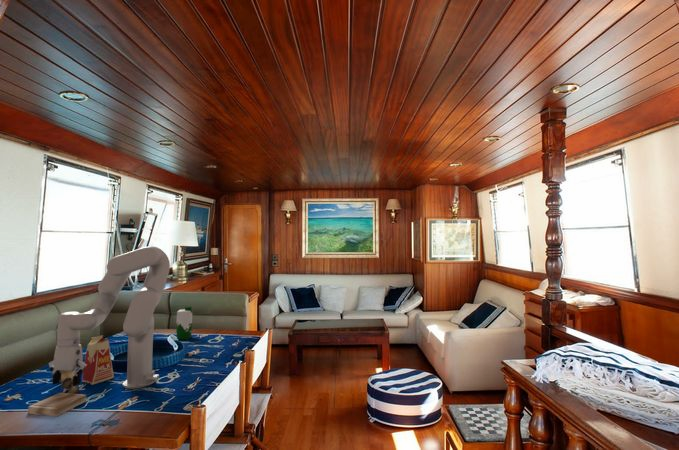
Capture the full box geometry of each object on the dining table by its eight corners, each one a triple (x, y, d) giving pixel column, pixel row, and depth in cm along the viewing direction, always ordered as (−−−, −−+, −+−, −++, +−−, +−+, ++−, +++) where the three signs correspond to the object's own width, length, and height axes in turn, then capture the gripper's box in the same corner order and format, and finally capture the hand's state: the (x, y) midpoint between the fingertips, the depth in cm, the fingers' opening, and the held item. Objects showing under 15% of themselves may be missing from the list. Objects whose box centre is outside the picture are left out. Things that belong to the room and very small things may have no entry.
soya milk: (190, 339, 224) (191, 307, 225) (175, 340, 222) (175, 308, 223) (192, 336, 233) (193, 305, 234) (177, 337, 230) (178, 306, 231)
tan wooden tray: (85, 401, 137) (86, 394, 137) (56, 416, 125) (56, 408, 125) (59, 399, 139) (59, 392, 139) (27, 413, 127) (28, 406, 127)
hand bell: (63, 382, 156) (64, 345, 156) (48, 381, 157) (49, 344, 158) (80, 375, 164) (81, 340, 164) (65, 374, 165) (67, 339, 166)
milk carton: (114, 377, 161) (115, 333, 162) (92, 385, 153) (94, 338, 154) (101, 374, 165) (102, 331, 166) (80, 381, 157) (81, 336, 158)
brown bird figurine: (52, 390, 145) (55, 392, 139) (64, 372, 149) (67, 373, 142) (71, 396, 149) (75, 398, 142) (82, 378, 152) (87, 380, 146)
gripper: (94, 340, 150) (92, 382, 149) (59, 338, 152) (57, 379, 152) (78, 345, 142) (76, 389, 141) (42, 343, 145) (39, 386, 144)
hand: (66, 384), depth 146 cm, fingers open, 9 cm apart
